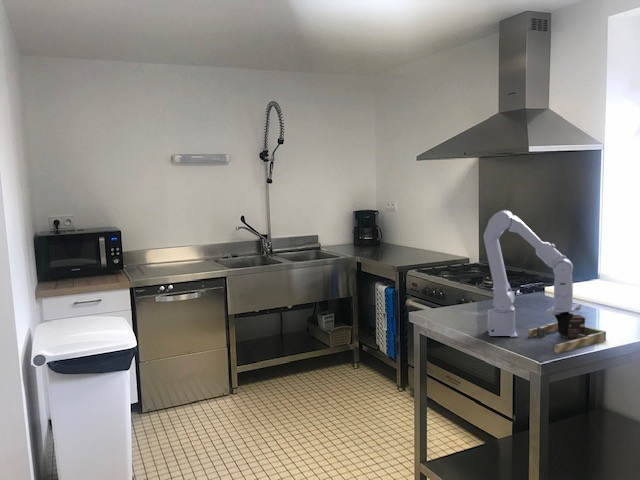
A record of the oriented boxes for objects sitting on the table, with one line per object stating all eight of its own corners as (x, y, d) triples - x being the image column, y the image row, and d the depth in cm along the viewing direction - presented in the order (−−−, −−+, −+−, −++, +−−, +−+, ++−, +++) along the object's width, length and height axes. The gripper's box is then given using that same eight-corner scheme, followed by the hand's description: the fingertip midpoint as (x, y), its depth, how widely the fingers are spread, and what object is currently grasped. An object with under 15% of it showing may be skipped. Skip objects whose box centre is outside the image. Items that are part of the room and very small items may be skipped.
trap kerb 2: (583, 344, 173) (583, 336, 173) (577, 343, 175) (577, 334, 175) (586, 344, 174) (586, 335, 173) (580, 342, 175) (580, 333, 175)
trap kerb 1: (542, 337, 183) (542, 329, 182) (536, 335, 185) (536, 327, 184) (544, 336, 183) (544, 328, 183) (539, 335, 185) (539, 326, 185)
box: (566, 339, 179) (567, 318, 178) (558, 333, 185) (559, 313, 184) (584, 339, 179) (585, 318, 178) (576, 333, 185) (577, 313, 184)
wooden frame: (557, 353, 166) (557, 344, 166) (515, 339, 182) (515, 331, 181) (605, 340, 176) (606, 331, 176) (562, 328, 191) (562, 320, 191)
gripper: (557, 299, 171) (558, 340, 173) (588, 293, 177) (588, 332, 179) (540, 296, 177) (540, 335, 179) (570, 290, 183) (570, 328, 185)
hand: (563, 333), depth 179 cm, fingers closed, pressing on box
